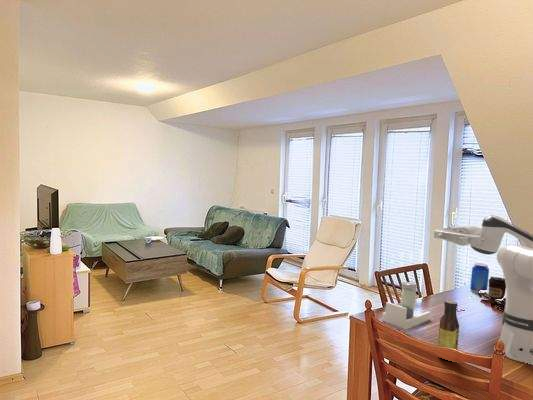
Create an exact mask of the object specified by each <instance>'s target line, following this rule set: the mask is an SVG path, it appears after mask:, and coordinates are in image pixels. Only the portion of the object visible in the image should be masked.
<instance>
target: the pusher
mask: <svg viewBox="0 0 533 400" xmlns="http://www.w3.org/2000/svg"><path fill="white" fill-rule="evenodd" d="M395 304H396V305H399V306H401V304H398V303H395ZM402 307H404V306H402ZM405 308H407V307H405ZM412 317H413V309H411V308H407V314H406V320H407V319H410V318H412Z"/></svg>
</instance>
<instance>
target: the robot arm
mask: <svg viewBox="0 0 533 400" xmlns="http://www.w3.org/2000/svg"><path fill="white" fill-rule="evenodd" d="M505 233H507V234H509V235H511V236H513V237H515V238H517V239H519V240H520V241H522V242H523V243H524V245H525V246H524V245H520V244H505V245H503V246H502V247H500V246H501V244H502V242H503V241H502V240H503V238H504V235H505ZM433 238H434V239H437V240H443V241H446V242H450V243H453V244H455V245H458V246H460V247H461V246H462V247H463V246H470V248H472V250H474V251H475V252H477V253H479V254H483V255H487V256H488V255H494V254H496V253H497V254H496V260H497V263H498V265H499V266H500V268H501V270H502V273H503V274H502V275H503V278H504V279H505V283H506V291H505V294H506V295H505V310H503V312H502V317H501V318H502V319H501V323H502V328H501V333H500V336H499V337H498V341H499V340H501V341H503V343H504V344H505V350H504V352H505V354H504V355H505V356H506V357H507V358H508V359H510V360H514V361H517V362H520V363H523V362H524V364H527V363H528V364H527V365H530V364H531V366H533V234H531V233H530V232H528V231H526V230H524V229H522V228H520V227H518V226H517V225H514V224H512V223H510V222H509V221H508V220H505V219H504V218H502V217H500V216H498V215H494V214H491V215H487V216H486V217H484V218H483V220H482V224H481V227H479V226H477V225H476V226H475V225H466V226H455V227H450V226H445V227H444V228H438V229H435V230H434V232H433Z"/></svg>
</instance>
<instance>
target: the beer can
mask: <svg viewBox="0 0 533 400" xmlns="http://www.w3.org/2000/svg"><path fill="white" fill-rule="evenodd" d="M489 276H490V269H489V267H488V264H486V263H485V264H484V263H479V262H475V263H474V264H473V266H472V267H471V277H470V287H469V289H470V291H471V292H472V293H474V294H476V295H477V294H478V293H479V291H480V290H487V291H488V288H489ZM478 295H479V294H478Z"/></svg>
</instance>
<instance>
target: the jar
mask: <svg viewBox="0 0 533 400" xmlns="http://www.w3.org/2000/svg"><path fill="white" fill-rule="evenodd" d="M401 288H402V289H401V299H400V305H401V306H404V307H407V308H411V309H413V317H414V314H415V306H416V305H415V304H416V293H417V289H418V284H417V283H414V282H410V281H403V282H401Z"/></svg>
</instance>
